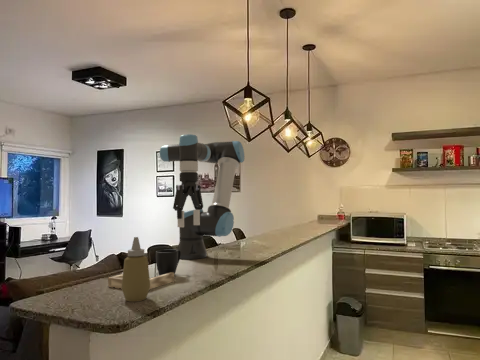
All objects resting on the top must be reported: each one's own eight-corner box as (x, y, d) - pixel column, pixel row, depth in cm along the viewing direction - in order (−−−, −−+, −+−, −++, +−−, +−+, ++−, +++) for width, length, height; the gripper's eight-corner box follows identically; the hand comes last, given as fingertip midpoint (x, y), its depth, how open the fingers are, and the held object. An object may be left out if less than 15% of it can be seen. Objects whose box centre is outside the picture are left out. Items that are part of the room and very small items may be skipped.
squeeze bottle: (117, 299, 106) (117, 237, 107) (142, 294, 111) (142, 235, 112) (128, 305, 100) (128, 239, 101) (155, 299, 105) (155, 237, 106)
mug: (188, 273, 141) (188, 248, 141) (168, 279, 131) (168, 253, 131) (172, 271, 145) (172, 247, 145) (151, 277, 134) (151, 251, 135)
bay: (142, 277, 135) (142, 269, 135) (174, 281, 128) (174, 272, 128) (108, 286, 121) (108, 277, 121) (141, 291, 114) (141, 282, 114)
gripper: (197, 173, 162) (197, 223, 161) (163, 171, 142) (163, 228, 141) (211, 173, 158) (211, 224, 157) (178, 170, 138) (179, 228, 137)
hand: (189, 226), depth 149 cm, fingers open, 10 cm apart
